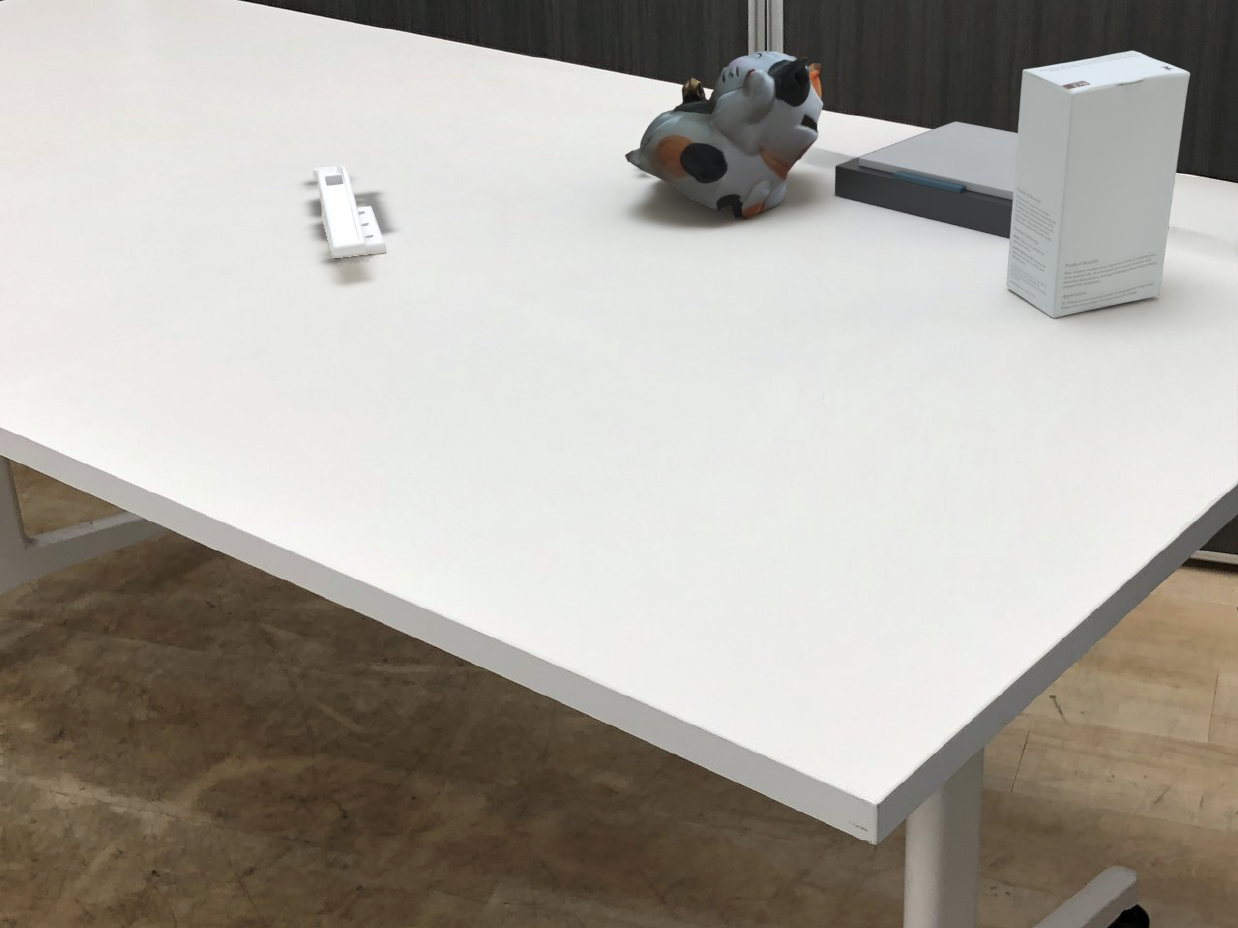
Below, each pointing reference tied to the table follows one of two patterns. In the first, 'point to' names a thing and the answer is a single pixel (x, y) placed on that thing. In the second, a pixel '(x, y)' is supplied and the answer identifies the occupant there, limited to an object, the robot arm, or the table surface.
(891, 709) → the table surface
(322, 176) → the white intercom handset
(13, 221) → the table surface
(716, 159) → the lucky cat figurine
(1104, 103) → the cosmetic box
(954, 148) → the scale
